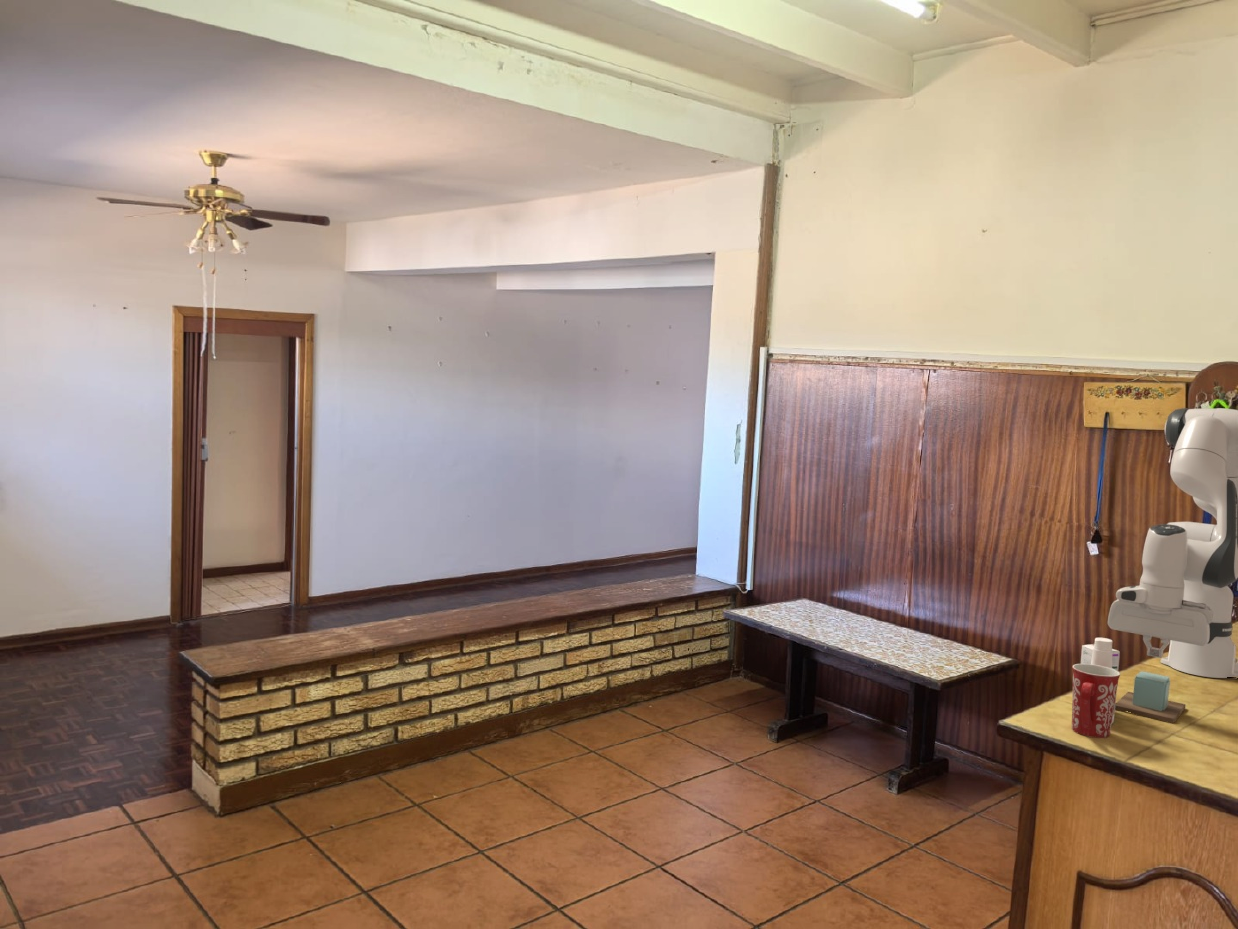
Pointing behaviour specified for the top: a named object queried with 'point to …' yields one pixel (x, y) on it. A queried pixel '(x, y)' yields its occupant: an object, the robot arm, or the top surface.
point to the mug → (1093, 699)
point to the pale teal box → (1151, 691)
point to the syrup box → (1087, 656)
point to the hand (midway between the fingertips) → (1154, 656)
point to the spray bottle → (1103, 656)
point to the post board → (1165, 715)
